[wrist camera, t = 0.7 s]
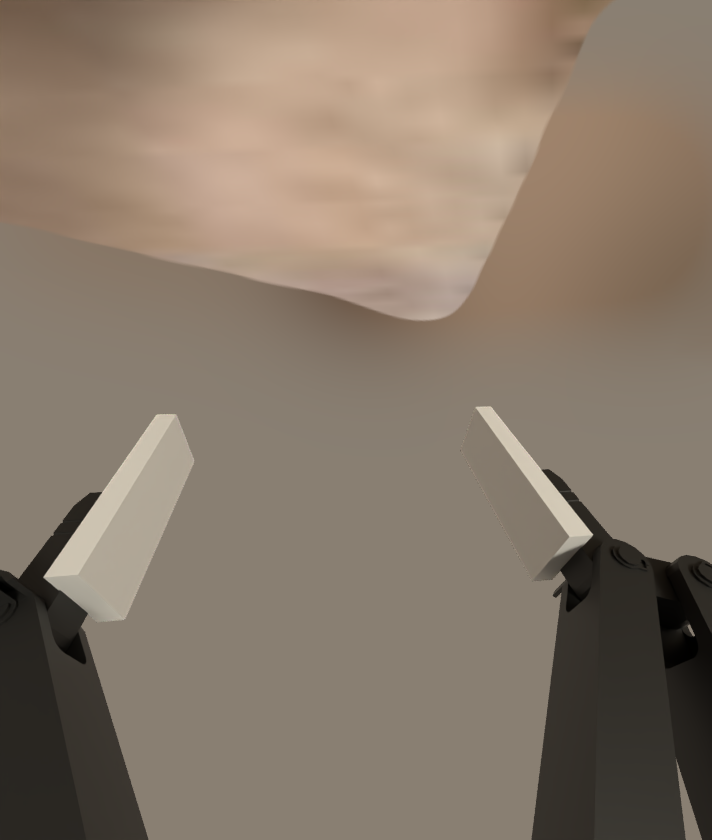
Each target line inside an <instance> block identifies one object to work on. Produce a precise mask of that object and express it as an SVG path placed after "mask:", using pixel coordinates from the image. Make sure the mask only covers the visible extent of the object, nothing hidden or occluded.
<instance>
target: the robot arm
mask: <svg viewBox="0 0 712 840" xmlns="http://www.w3.org/2000/svg"><path fill="white" fill-rule="evenodd" d="M460 451H461V453H462V455H463V456H464V458H465V460H466V462H467V464H468V466H469V467H470V469H471V471H472V473H473V475H474V476H475V478H476V480H477V482H478V484H479V486H480V487H481V489H482V491H483V493H484V495H485V497H486V498H487V500H488V502H489V504H490V506H491V507H492V509H493V511H494V513H495V515H496V516H497V518H498V520H499V522H500V524H501V526H502V528H503V529H504V531H505V533H506V535H507V537H508V538H509V540H510V542H511V544H512V546H513V548H514V549H515V551H516V553H517V555H518V557H519V559H520V560H521V562H522V564H523V566H524V568H525V569H526V571H527V573H528V575H529V576H530V579H531V580H532V581H541V580H552V579H553V578H554V577H555V576H556V575H557V574H558V573H559V572H560V571H561V572H562V574H563V575H564V577H565V578H566V580H565V581H564V582H563V583H562V584H561V585H560V586H559V587H558V588H557V589H556V590H555V592H554V594H553V596H554V597H557V596H558V595H559V594H560V593H561V592H562V594H561V602H560V610H559V619H558V626H557V635H556V643H555V651H554V660H553V667H552V676H551V685H550V693H549V700H548V709H547V718H546V725H545V733H544V742H543V751H542V758H541V766H540V774H539V783H538V791H537V799H536V808H535V816H534V824H533V833H532V840H686V839H685V831H684V822H683V814H682V806H681V798H680V789H679V781H678V773H677V764H676V759H677V762H678V765H679V768H680V772H681V775H682V778H683V781H684V784H685V787H686V790H687V793H688V796H689V800H690V803H691V806H692V809H693V812H694V815H695V818H696V821H697V825H698V828H699V831H700V834H701V837H702V840H712V564H710V563H709V562H707V561H705V560H703V559H700V558H697V557H695V556H689V555H685V556H681V557H679V558H678V559H676V560H675V561H674V562H672V563H670V562H666V561H661V560H656V559H652V558H648V557H645V556H644V555H643V554H642V553H641V552H639V551H638V550H637V549H636V548H635V547H633V546H631V545H629V544H627V543H626V542H623V541H620V540H617V539H612V537H611V536H610V535H609V534H608V533H607V532H606V531H605V529H604V528H603V527H602V526H601V525H600V524H599V522H598V521H597V520H596V519H595V518H594V517H593V515H592V514H591V513H590V512H589V511H588V509H587V508H586V507H585V506H584V505H583V504H582V502H579V499H578V498H577V496H576V495H575V494H574V493H573V492H571V489H570V488H569V487H568V486H567V484H566V483H565V482H564V481H563V480H562V479H561V478H560V477H559V476H557V475H556V474H554V473H553V472H552V471H550V470H549V469H546V470H541V469H540V468H539V466H538V465H537V464H536V463H535V462H534V460H533V459H532V458H531V456H530V455H529V454H528V453H527V451H526V450H525V449H524V448H523V446H522V445H521V444H520V443H519V441H518V440H517V439H516V438H515V436H514V435H513V434H512V433H511V431H510V430H509V429H508V428H507V426H506V425H505V424H504V423H503V421H502V420H501V419H500V418H499V416H498V415H497V414H496V413H495V411H494V410H493V409H492V408H491V407H475V410H474V412H473V416H472V418H471V421H470V424H469V427H468V430H467V433H466V435H465V439H464V442H463V444H462V447H461V450H460ZM193 463H194V459H193V456H192V453H191V451H190V448H189V446H188V443H187V441H186V438H185V436H184V433H183V430H182V428H181V425H180V423H179V420H178V417H177V415H176V414H162V415H156V416H155V418H154V419H153V421H152V422H151V423H150V425H149V426H148V428H147V429H146V431H145V432H144V433H143V435H142V436H141V438H140V439H139V441H138V442H137V444H136V445H135V447H134V448H133V449H132V451H131V452H130V454H129V455H128V456H127V458H126V459H125V461H124V462H123V464H122V465H121V467H120V468H119V469H118V471H117V472H116V474H115V475H114V477H113V478H112V480H111V481H110V482H109V484H108V485H107V487H106V488H105V489H104V491H103V492H97V493H89V494H88V495H87V496H86V497H84V498H83V499H82V500H81V501H79V502H78V503H77V504H76V505H74V506H73V508H72V509H71V510H70V512H69V513H68V514H67V516H66V517H65V518H64V520H63V523H61V524H60V525H59V526H58V528H57V529H56V530H55V532H54V535H53V536H51V537H50V538H49V540H48V541H47V542H46V543H45V545H44V546H43V548H42V549H41V550H40V551H39V553H38V554H37V555H36V557H35V558H34V559H33V561H32V562H31V563H30V565H29V566H28V567H27V569H26V570H25V571H24V572H23V574H22V575H21V576H20V578H19V579H17V578H16V577H14V576H13V575H12V574H11V573H9V572H7V571H2V570H0V840H148V837H147V834H146V830H145V827H144V824H143V820H142V817H141V814H140V811H139V807H138V804H137V801H136V798H135V794H134V791H133V788H132V785H131V781H130V778H129V775H128V771H127V768H126V765H125V762H124V759H123V755H122V752H121V749H120V746H119V742H118V739H117V736H116V732H115V729H114V726H113V723H112V719H111V716H110V713H109V709H108V706H107V703H106V700H105V696H104V693H103V690H102V687H101V683H100V680H99V677H98V673H97V670H96V667H95V664H94V661H93V657H92V654H91V651H90V647H89V644H88V641H87V637H86V634H85V632H84V630H83V629H82V628H81V625H82V623H83V622H84V620H85V618H86V616H87V614H88V615H89V616H90V617H91V618H93V619H94V620H95V621H96V622H104V621H114V620H125V618H126V616H127V613H128V611H129V609H130V606H131V604H132V602H133V600H134V598H135V595H136V593H137V591H138V588H139V586H140V584H141V582H142V579H143V577H144V575H145V573H146V570H147V568H148V566H149V563H150V561H151V559H152V557H153V554H154V552H155V550H156V547H157V545H158V543H159V541H160V539H161V536H162V534H163V532H164V529H165V527H166V525H167V523H168V520H169V518H170V516H171V514H172V511H173V509H174V507H175V504H176V502H177V500H178V498H179V495H180V493H181V491H182V488H183V486H184V484H185V482H186V479H187V477H188V475H189V472H190V470H191V468H192V466H193ZM689 624H690V625H691V628H692V630H693V632H694V634H695V636H692V634H691V633H690V631H689V629H688V627H687V626H688V625H689Z"/></svg>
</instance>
